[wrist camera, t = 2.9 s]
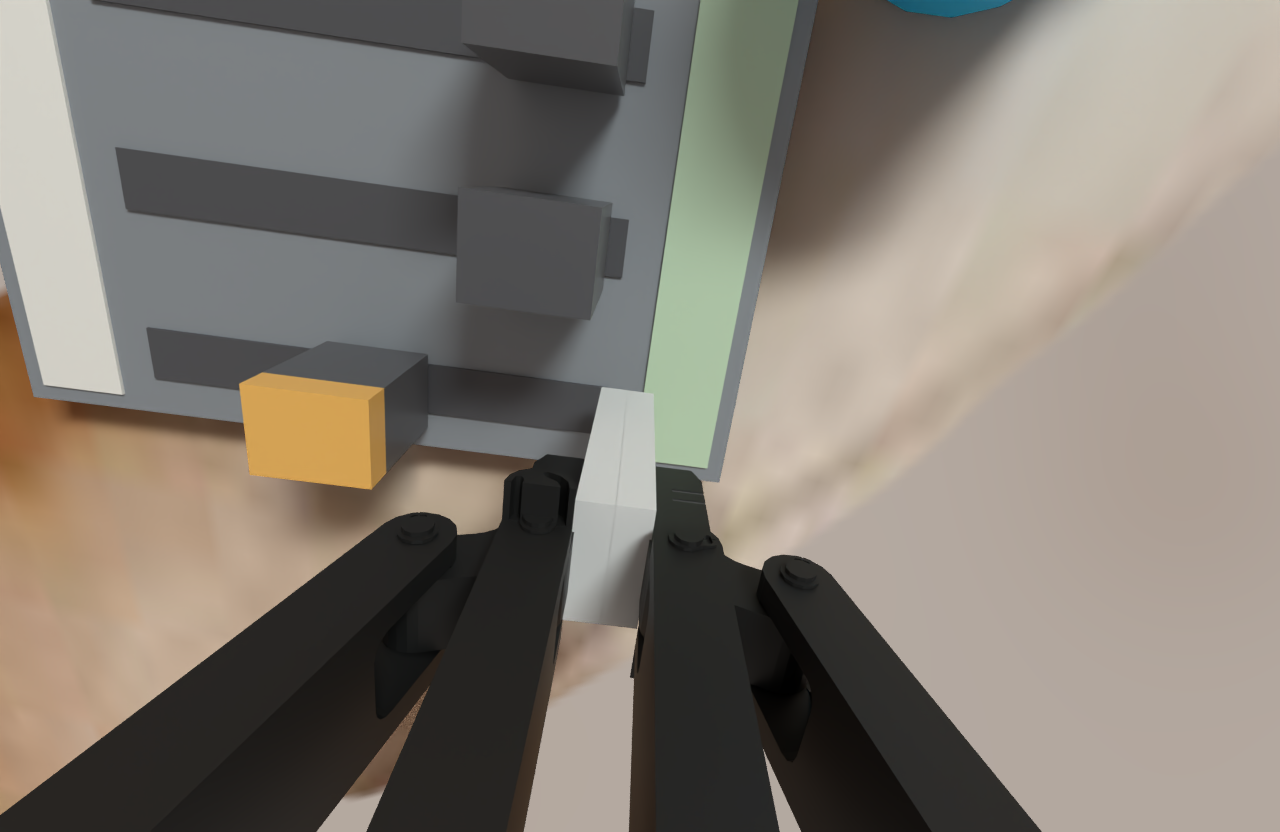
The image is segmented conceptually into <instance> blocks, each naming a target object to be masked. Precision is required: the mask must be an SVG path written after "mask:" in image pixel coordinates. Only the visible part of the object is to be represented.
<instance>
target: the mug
mask: <svg viewBox="0 0 1280 832" xmlns="http://www.w3.org/2000/svg"><path fill="white" fill-rule="evenodd" d="M887 1H889V2H891V3H892V4H894V5H896V6H897V7H899V8H901V9H903V10H904V11H908V12H915V13H922V14H929V15H936V16H943V17H950V18H952V17H956V16H961V15H965V14H970V13H974V12H979V11H983V10H987V9H992V8H996V7H1000V6H1002V5H1004V4H1006V3H1008V2H1010V1H1012V0H887Z"/></svg>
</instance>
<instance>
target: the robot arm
mask: <svg viewBox="0 0 1280 832" xmlns="http://www.w3.org/2000/svg"><path fill="white" fill-rule="evenodd" d="M638 619H639V626H638V632H637V638H636V644H635V650H634V657H633V663H632V669H631V675H630V677H631V678H634V696H633V727H632V756H631V787H630V817H629V819H630V820H629V832H780V831H779V826H778V821H777V816H776V811H775V807H774V801H773V796H772V792H771V786H770V782H769V777H768V772H767V766H766V762H765V757H764V751H765V754H766V756H767V758H768V760H769V762H770V764H771V767H772V769H773V771H774V773H775V775H776V777H777V780H778V782H779V784H780V786H781V788H782V791H783V793H784V795H785V797H786V799H787V802H788V804H789V806H790V808H791V810H792V812H793V814H794V817H795V819H796V821H797V823H798V825H799V828H800V830H801V832H1041V830H1040V829H1039V828H1038V827H1037V825H1036V824H1035V823H1034V822H1033V821H1032V819H1031V818H1030V817H1029V816H1028V814H1027V813H1026V812H1025V811H1024V810H1023V808H1022V807H1021V806H1020V805H1019V803H1018V802H1017V801H1016V800H1015V799H1014V797H1013V796H1012V795H1011V794H1010V793H1009V791H1008V790H1007V789H1006V788H1005V786H1004V785H1003V784H1002V783H1001V782H1000V780H999V779H998V778H997V777H996V775H995V774H994V773H993V772H992V771H991V769H990V768H989V767H988V766H987V764H986V763H985V762H984V761H983V760H982V758H981V757H980V756H979V755H978V753H977V752H976V751H975V750H974V749H973V747H972V746H971V745H970V744H969V742H968V741H967V740H966V739H965V738H964V736H963V735H962V734H961V733H960V731H959V730H958V729H957V728H956V727H955V725H954V724H953V723H952V722H951V720H950V719H949V718H948V717H947V716H946V714H945V713H944V712H943V711H942V709H941V708H940V707H939V706H938V705H937V703H936V702H935V701H934V700H933V698H932V697H931V696H930V695H929V694H928V692H927V691H926V690H925V689H924V688H923V686H922V685H921V684H920V683H919V681H918V680H917V679H916V678H915V677H914V675H913V674H912V673H911V672H910V670H909V669H908V668H907V667H906V666H905V664H904V663H903V662H902V661H901V659H900V658H899V657H898V656H897V655H896V653H895V652H894V651H893V650H892V649H891V647H890V646H889V645H888V644H887V642H886V641H885V640H884V639H883V638H882V637H881V635H880V634H879V633H878V632H877V630H876V629H875V628H874V626H873V625H872V624H871V623H870V622H869V620H868V619H867V618H866V617H865V616H864V614H863V613H862V612H861V611H860V609H859V608H858V607H857V606H856V605H855V603H854V602H853V601H852V600H851V598H850V597H849V596H848V595H847V594H846V592H845V591H844V590H843V589H842V588H841V586H840V585H839V584H838V583H837V581H836V580H835V579H834V578H833V577H832V575H831V574H829V573H828V572H827V571H826V570H825V569H824V568H823V567H821V566H819V565H818V564H816V563H814V562H812V561H810V560H808V559H806V558H802V557H799V556H791V555H779V556H773V557H771V558H769V559H768V560H766V561H765V562H764V565H763V568H762V570H759V569H755V568H752V567H749V566H746V565H743V564H741V563H738V562H736V561H734V560H732V559H730V558H728V557H727V556H725V555H724V552H723V547H722V544H721V543H720V541H719V539H718V538H717V537H716V536H715V535H714V534H713V533H711V532H710V526H709V521H708V515H707V510H706V505H705V499H704V495H703V487H702V482H701V481H700V480H699V479H698V477H697V476H696V475H695V474H694V473H693V472H692V471H689V470H681V469H673V468H665V467H657V466H655V428H654V394H652V393H645V392H637V391H630V390H622V389H615V388H607V387H602V388H601V392H600V397H599V401H598V405H597V409H596V414H595V418H594V422H593V426H592V431H591V435H590V439H589V444H588V448H587V452H586V456H585V459H582V458H574V457H567V456H559V455H551V454H547V455H545V456H544V457H542V458H540V459H539V460H537V461H536V462H535V463H534V465H533V468H531V469H525V470H519V471H517V472H515V473H512V474H510V475H509V476H508V477H507V478H506V479H505V480H504V496H503V513H502V521H501V523H500V525H499V528H497V529H495V530H492V531H488V532H485V533H477V534H466V535H457V528H456V525H455V524H454V523H453V522H452V521H451V520H450V519H448V518H446V517H444V516H441V515H439V514H432V513H426V512H420V513H418V512H417V513H410V514H406V515H402V516H398V517H395V518H394V519H392V520H390V521H388V522H386V523H384V524H383V525H382V526H380V527H379V528H378V529H377V530H375V531H374V532H373V533H371V534H370V535H369V536H367V537H366V538H365V539H363V540H362V541H361V542H359V543H358V544H357V545H355V546H354V547H353V548H351V549H350V550H349V551H348V552H346V553H345V554H344V555H342V556H341V557H340V558H338V559H337V560H336V561H334V562H333V563H332V564H330V565H329V566H328V567H326V568H325V569H324V570H323V571H321V572H320V573H319V574H317V575H316V576H315V577H313V578H312V579H311V580H309V581H308V582H307V583H305V584H304V585H303V586H301V587H300V588H299V589H297V590H296V591H295V592H294V593H292V594H291V595H290V596H288V597H287V598H286V599H284V600H283V601H282V602H280V603H279V604H278V605H276V606H275V607H274V608H272V609H271V610H270V611H269V612H267V613H266V614H265V615H263V616H262V617H261V618H259V619H258V620H257V621H255V622H254V623H253V624H251V625H250V626H249V627H247V628H246V629H245V630H244V631H242V632H241V633H240V634H238V635H237V636H236V637H234V638H233V639H232V640H230V641H229V642H228V643H226V644H225V645H224V646H222V647H221V648H220V649H218V650H217V651H216V652H215V653H213V654H212V655H211V656H209V657H208V658H207V659H205V660H204V661H203V662H201V663H200V664H199V665H197V666H196V667H195V668H193V669H192V670H191V671H190V672H188V673H187V674H186V675H184V676H183V677H182V678H180V679H179V680H178V681H176V682H175V683H174V684H172V685H171V686H170V687H168V688H167V689H166V690H164V691H163V692H162V693H161V694H159V695H158V696H157V697H155V698H154V699H153V700H151V701H150V702H149V703H147V704H146V705H145V706H143V707H142V708H141V709H139V710H138V711H137V712H136V713H134V714H133V715H132V716H130V717H129V718H128V719H126V720H125V721H124V722H122V723H121V724H120V725H118V726H117V727H116V728H114V729H113V730H112V731H110V732H109V733H108V734H107V735H105V736H104V737H103V738H101V739H100V740H99V741H97V742H96V743H95V744H93V745H92V746H91V747H89V748H88V749H87V750H85V751H84V752H83V753H82V754H80V755H79V756H78V757H76V758H75V759H74V760H72V761H71V762H70V763H68V764H67V765H66V766H64V767H63V768H62V769H60V770H59V771H58V772H56V773H55V774H54V775H53V776H51V777H50V778H49V779H47V780H46V781H45V782H43V783H42V784H41V785H39V786H38V787H37V788H35V789H34V790H33V791H31V792H30V793H29V794H28V795H26V796H25V797H24V798H22V799H21V800H20V801H18V802H17V803H16V804H14V805H13V806H12V807H10V808H9V809H8V810H6V811H5V812H4V813H2V814H1V815H0V832H316V831H317V830H318V829H319V827H320V826H321V825H322V824H323V822H324V821H325V820H326V818H327V817H328V816H329V814H330V813H331V812H332V811H333V809H334V808H335V807H336V806H337V804H338V803H339V802H340V800H341V799H342V798H343V797H344V795H345V794H346V793H347V791H348V790H349V789H350V788H351V786H352V785H353V784H354V782H355V781H356V780H357V778H358V777H359V776H360V775H361V773H362V772H363V771H364V769H365V768H366V767H367V766H368V764H369V763H370V762H371V760H372V759H373V758H374V757H375V755H376V754H377V753H378V751H379V750H380V749H381V748H382V746H383V745H384V744H385V742H386V741H387V740H388V738H389V737H390V736H391V735H392V733H393V732H394V731H395V729H396V728H397V727H398V726H399V724H400V723H401V722H402V720H403V719H404V718H405V717H406V715H407V714H408V713H409V711H410V710H411V709H412V707H413V706H414V705H415V704H416V702H417V701H418V700H419V698H420V697H421V696H422V695H423V693H424V692H425V691H426V689H427V688H428V687H429V689H428V691H427V693H426V696H425V698H424V700H423V703H422V705H421V707H420V709H419V712H418V714H417V716H416V719H415V721H414V723H413V726H412V728H411V730H410V732H409V735H408V737H407V739H406V742H405V744H404V746H403V749H402V751H401V753H400V755H399V758H398V760H397V762H396V765H395V767H394V769H393V772H392V774H391V776H390V778H389V781H388V783H387V785H386V788H385V790H384V792H383V795H382V797H381V799H380V801H379V804H378V807H377V808H376V811H375V813H374V815H373V818H372V820H371V822H370V824H369V827H368V829H367V832H523V831H524V827H525V821H526V815H527V811H528V805H529V800H530V795H531V789H532V785H533V779H534V774H535V769H536V764H537V758H538V753H539V748H540V742H541V738H542V732H543V727H544V722H545V717H546V711H547V706H548V701H549V696H550V691H551V685H552V680H553V675H554V670H555V664H556V659H557V654H558V649H559V643H560V638H561V629H562V620H568V621H577V622H585V623H594V624H602V625H611V626H619V627H628V628H636V629H637V625H638ZM763 749H764V751H763Z"/></svg>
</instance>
